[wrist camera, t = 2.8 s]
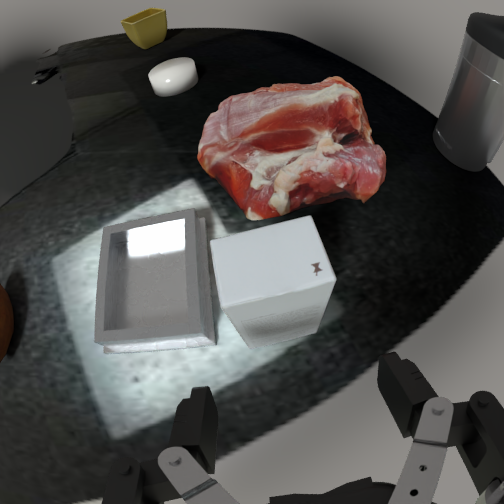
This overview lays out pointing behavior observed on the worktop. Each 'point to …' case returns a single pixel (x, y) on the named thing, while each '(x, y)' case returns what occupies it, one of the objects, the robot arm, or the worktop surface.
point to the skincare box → (273, 281)
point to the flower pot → (146, 27)
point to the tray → (154, 285)
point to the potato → (5, 322)
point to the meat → (292, 148)
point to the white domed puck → (173, 76)
